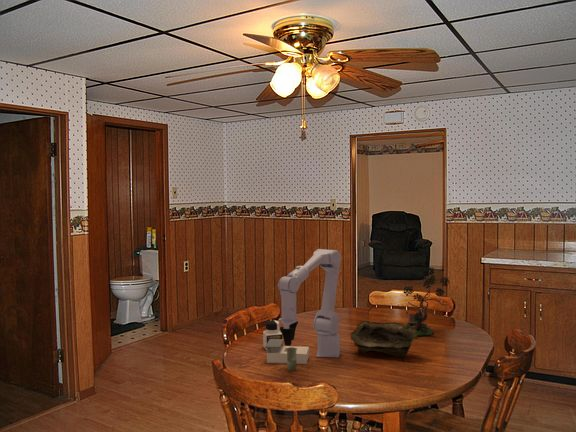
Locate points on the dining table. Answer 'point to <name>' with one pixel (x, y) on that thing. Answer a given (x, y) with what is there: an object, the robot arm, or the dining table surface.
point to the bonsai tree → (419, 318)
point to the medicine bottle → (271, 332)
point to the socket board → (285, 352)
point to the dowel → (291, 359)
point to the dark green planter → (384, 337)
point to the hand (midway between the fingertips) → (289, 342)
